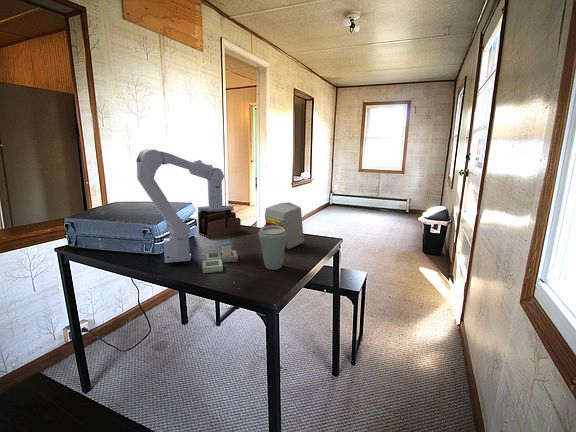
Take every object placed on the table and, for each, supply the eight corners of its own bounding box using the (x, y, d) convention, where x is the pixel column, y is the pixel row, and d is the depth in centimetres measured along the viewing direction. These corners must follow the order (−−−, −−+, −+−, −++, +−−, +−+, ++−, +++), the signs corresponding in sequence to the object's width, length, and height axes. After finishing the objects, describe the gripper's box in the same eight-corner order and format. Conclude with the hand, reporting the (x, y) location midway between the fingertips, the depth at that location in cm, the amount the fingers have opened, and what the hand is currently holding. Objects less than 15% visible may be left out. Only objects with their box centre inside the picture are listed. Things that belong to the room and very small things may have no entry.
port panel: (206, 264, 114) (206, 258, 114) (206, 257, 122) (205, 251, 121) (237, 261, 118) (237, 255, 117) (235, 254, 125) (235, 249, 125)
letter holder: (198, 234, 155) (197, 208, 152) (231, 228, 168) (230, 204, 165) (207, 239, 148) (206, 211, 145) (241, 232, 161) (240, 206, 158)
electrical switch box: (260, 248, 140) (254, 208, 134) (284, 238, 149) (279, 200, 143) (280, 256, 130) (275, 213, 124) (304, 245, 139) (300, 204, 133)
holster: (202, 273, 106) (202, 267, 106) (202, 265, 113) (202, 261, 112) (222, 271, 108) (222, 265, 108) (221, 264, 115) (221, 259, 114)
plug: (222, 261, 118) (222, 243, 116) (222, 258, 121) (221, 241, 120) (231, 260, 119) (231, 243, 117) (230, 257, 122) (230, 240, 121)
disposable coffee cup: (292, 268, 111) (292, 229, 108) (265, 274, 106) (265, 233, 102) (278, 259, 120) (278, 223, 117) (254, 264, 115) (253, 226, 111)
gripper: (197, 198, 119) (199, 231, 122) (233, 197, 123) (234, 228, 126) (197, 195, 126) (199, 227, 129) (232, 194, 130) (232, 225, 133)
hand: (216, 227), depth 128 cm, fingers open, 7 cm apart
